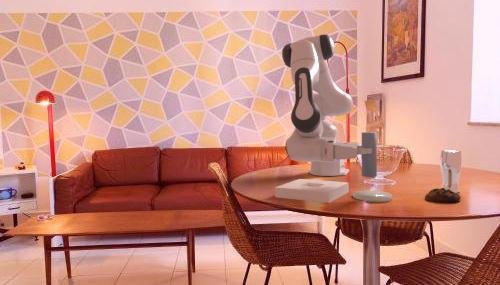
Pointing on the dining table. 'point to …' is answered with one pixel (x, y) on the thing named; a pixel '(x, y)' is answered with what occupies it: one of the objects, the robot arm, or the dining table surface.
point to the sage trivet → (373, 196)
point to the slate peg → (369, 159)
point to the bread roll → (442, 196)
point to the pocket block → (312, 190)
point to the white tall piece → (450, 169)
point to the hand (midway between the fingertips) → (371, 149)
